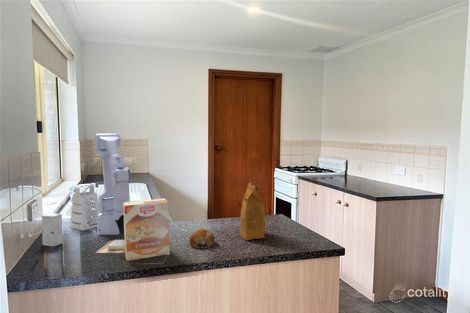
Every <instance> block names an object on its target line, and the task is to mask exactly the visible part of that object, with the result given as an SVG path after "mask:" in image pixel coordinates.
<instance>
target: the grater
mask: <svg viewBox="0 0 470 313" xmlns="http://www.w3.org/2000/svg"><path fill="white" fill-rule="evenodd" d="M84 186H88V187H89V191H86V192H81V191H80V190H81V187H84ZM74 191H75V192H74V193H73V194H72V201H71V202H72V204H71V211H70V222H69V228H70V229H75V230H79V231H87V230H89V229H93V228H97V216H98V214H99V213H100V211H99V197H98V193H97V192H95V186H94V184H92V183H84V184H83V183H82V184H76V186H75V188H74Z"/></svg>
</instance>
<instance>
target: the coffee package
mask: <svg viewBox="0 0 470 313" xmlns="http://www.w3.org/2000/svg"><path fill="white" fill-rule="evenodd" d="M258 190H259V187H258V186H255V185H254V184H253V183H252V182H249V183H248V186H247V188H246V191H245V194H244V196H243V199H242V202H241V203H242V204H241V208H240V221H239V222H240V224H239V225H240V226H239V228H240V229H239V230H240V236H241V238H242V239H243V240H245V241H250V240H256V239H264V238H266V237H265V230H266V218H265V216H266V214H265V203H264V201H263V199H262V198H261V197H260V195H259V194H258V192H257V191H258Z"/></svg>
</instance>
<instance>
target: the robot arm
mask: <svg viewBox="0 0 470 313" xmlns="http://www.w3.org/2000/svg"><path fill="white" fill-rule="evenodd" d="M121 139H122V138H121V135H120V133H118V132H117V133H98V132H97V133H96V134H95V136H94V143H95V144H94V145H95V151H96V153H97V154H98V155H100V158H101V163H102V164H101V165H102V175H103V184H104V185H103V188H104V191H103V192H102V193H101V194H100V195H98V203H99V211H100V213H99V214H98V216H97V218H96V219H97V224H96V225H97V227H96V231H97V232H96V236H97V235H98V236H101V235H102V236H104V235H110V236H112V235H115V236H116V235H119V234H120V235H124V211H123V202H130V201H131V200H130V198H131V197H130V183H131V181H132V174H131V173H132V172H131V169H130V168H129V167H128V166H127V165H126V163H125V161H124V157H123V156H122V155H120V152H119V149H120V146H121V145H122V144H121V142H122V141H121Z"/></svg>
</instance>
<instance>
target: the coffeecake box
mask: <svg viewBox="0 0 470 313" xmlns="http://www.w3.org/2000/svg"><path fill="white" fill-rule="evenodd" d="M123 211H124V234H123V236H124V239H123V240H125V253H124V257H125V261H133V260H139V259H147V258H152V257H159V256H164V255H167V256H169V255H171V254H170V249H171V248H170V218H169V217H170V215H169V214H170V213H169V201H168V200H167V199H166V198H155V199H145V200H144V199H143V200H132V201H131V200H130V202H123Z"/></svg>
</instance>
